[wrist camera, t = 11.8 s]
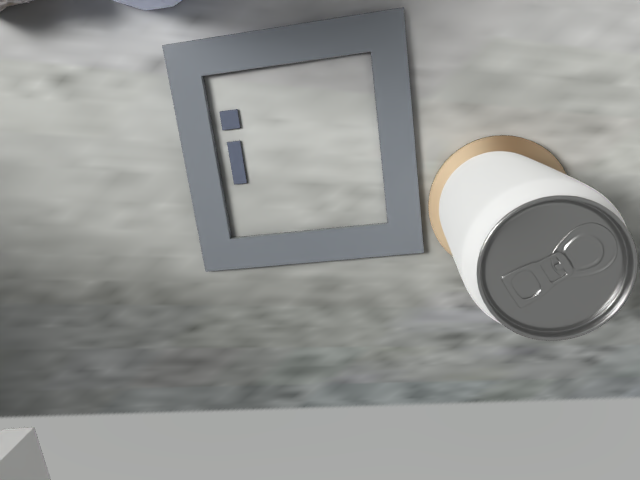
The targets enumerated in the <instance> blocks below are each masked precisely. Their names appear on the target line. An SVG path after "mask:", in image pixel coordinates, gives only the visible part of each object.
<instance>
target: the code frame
mask: <svg viewBox="0 0 640 480" xmlns="http://www.w3.org/2000/svg"><path fill="white" fill-rule="evenodd" d="M162 47H163V52H164V57H165V62H166V68H167V73H168V78H169V83H170V88H171V94H172V99H173V104H174V109H175V115H176V120H177V125H178V130H179V135H180V141H181V146H182V151H183V156H184V161H185V167H186V172H187V177H188V182H189V187H190V193H191V198H192V203H193V208H194V214H195V219H196V224H197V229H198V234H199V240H200V245H201V250H202V255H203V260H204V266H205V271H218V270H229V269H241V268H252V267H264V266H275V265H287V264H299V263H310V262H322V261H333V260H345V259H356V258H368V257H379V256H391V255H403V254H414V253H424V249H423V237H422V224H421V212H420V200H419V188H418V176H417V164H416V152H415V140H414V127H413V115H412V103H411V91H410V79H409V67H408V55H407V42H406V30H405V18H404V7H403V8H397V9H390V10H384V11H378V12H371V13H365V14H359V15H352V16H346V17H339V18H333V19H327V20H320V21H314V22H307V23H301V24H295V25H288V26H282V27H275V28H269V29H263V30H256V31H250V32H244V33H237V34H231V35H224V36H218V37H212V38H205V39H199V40H192V41H186V42H180V43H173V44H167V45H162ZM366 52H371V59H372V69H373V79H374V89H375V99H376V110H377V120H378V130H379V140H380V150H381V160H382V170H383V180H384V190H385V201H386V211H387V221H388V223H378V224H368V225H357V226H347V227H336V228H326V229H316V230H305V231H295V232H284V233H274V234H264V235H253V236H243V237H231V231H230V225H229V220H228V214H227V208H226V203H225V197H224V191H223V186H222V180H221V174H220V169H219V163H218V157H217V151H216V146H215V140H214V134H213V129H212V123H211V117H210V112H209V106H208V100H207V95H206V89H205V83H204V78H203V76H208V75H215V74H222V73H229V72H236V71H242V70H249V69H256V68H263V67H270V66H277V65H284V64H291V63H297V62H304V61H311V60H318V59H325V58H332V57H339V56H346V55H353V54H359V53H366ZM220 118H221V124H222V130H228V129H236V128H240V122H239V115H238V109H236V110H228V111H221V112H220ZM227 145H228V151H229V157H230V163H231V169H232V174H233V180H234V184H242V183H247V179H246V173H245V167H244V161H243V155H242V149H241V143H240V141H233V142H227Z"/></svg>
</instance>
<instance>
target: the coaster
mask: <svg viewBox="0 0 640 480" xmlns="http://www.w3.org/2000/svg"><path fill="white" fill-rule="evenodd" d="M494 151H506V152H513V153H517V154H520V155H523V156H525V157H528V158H530V159H533V160H535V161H537V162H539V163H542V164H544V165H546V166H548V167H551V168H553V169H555V170H557V171H559V172H562V173H564V174H566V173H565V171H564V169H563V167H562V166H561V164H560V163H559V162H558V160H557V159H556V158H555V157H554V156H553V155H552V154H551V153H550V152H549V151H548V150H546V149H545V148H543V147H542V146H540V145H538V144H536V143H534V142H532V141H529V140H526V139H524V138H520V137H515V136H506V135H500V136H490V137H485V138H481V139H478V140H475V141H473V142H471V143H469V144H467V145H465V146H463V147H462V148H460V149H459V150H457V151H456V152H455V153H454V154H452V155H451V156H450V157H449V158H448V159H447V160H446V161H445V163H444V164H443V165H442V167H441V168H440V169H439V171H438V173H437V174H436V176H435V178H434V181H433V183H432V186H431V190H430V194H429V202H428V207H429V217H430V221H431V225H432V228H433V231H434V233H435V235H436V237H437V239H438V240H439V242H440V244H441V245H442V246H443V247H444V249H445V250H446V251H447V252H448V253H449V254H450V255H452V253H451V250H450V248H449V245H448V242H447V240H446V237H445V234H444V232H443V229H442V226H441V222H440V217H439V201H440V196H441V193H442V190H443V187H444V185H445V183H446V181H447V180H448V178H449V177H450V176H451V174H452V173H453V172H454V171H455V170H456V169H457V168H458V167H459V166H460V165H461V164H463V163H464V162H466V161H467V160H469V159H471V158H473V157H475V156H477V155H480V154H483V153H487V152H494ZM452 256H453V255H452Z"/></svg>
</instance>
